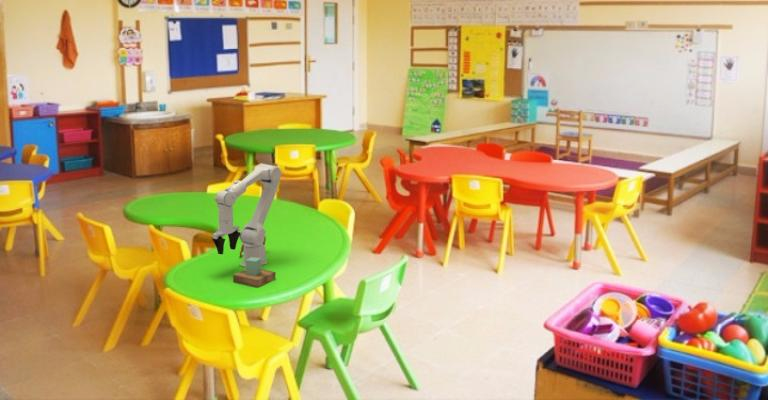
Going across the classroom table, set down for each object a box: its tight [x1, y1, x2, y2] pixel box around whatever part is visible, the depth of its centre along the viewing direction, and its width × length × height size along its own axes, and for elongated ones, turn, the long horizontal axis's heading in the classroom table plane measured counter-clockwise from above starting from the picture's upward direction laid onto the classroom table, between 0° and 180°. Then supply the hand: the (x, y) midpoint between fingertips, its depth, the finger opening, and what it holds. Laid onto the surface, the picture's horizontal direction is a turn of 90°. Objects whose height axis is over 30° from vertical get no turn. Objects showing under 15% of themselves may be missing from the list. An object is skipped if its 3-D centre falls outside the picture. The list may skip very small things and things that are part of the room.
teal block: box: [245, 257, 262, 276], centre depth 319 cm, size 4×4×6 cm
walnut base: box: [232, 268, 276, 288], centre depth 320 cm, size 12×12×3 cm
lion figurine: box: [239, 235, 267, 258], centre depth 351 cm, size 15×5×9 cm, turn 140°
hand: (226, 251), depth 326 cm, fingers open, 7 cm apart
